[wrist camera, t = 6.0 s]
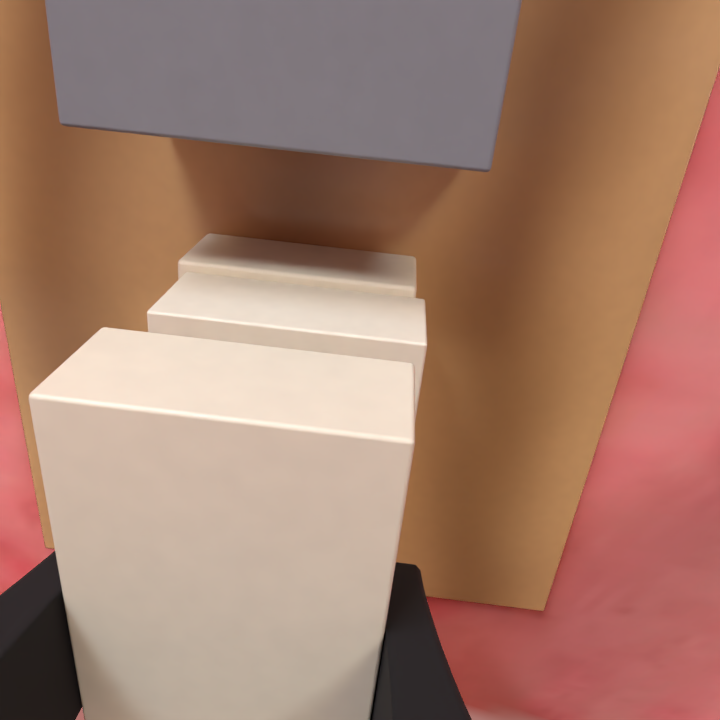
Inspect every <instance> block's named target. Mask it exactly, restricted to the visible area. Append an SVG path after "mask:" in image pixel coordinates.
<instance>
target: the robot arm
mask: <svg viewBox="0 0 720 720" xmlns="http://www.w3.org/2000/svg"><path fill="white" fill-rule="evenodd" d="M81 708H82V702H81V696H80V690H79V684H78V679H77V673H76V667H75V662H74V656H73V650H72V644H71V639H70V633H69V627H68V622H67V616H66V610H65V604H64V599H63V593H62V587H61V582H60V576H59V570H58V564H57V559H56V553H55V551H54V552H53V553H52V554H51V555H49V556H48V557H47V558H46V559H45V560H43V561H42V562H41V563H40V564H38V565H37V566H36V567H35V568H34V569H32V570H31V571H30V572H29V573H27V574H26V575H25V576H24V577H23V578H21V579H20V580H19V581H18V582H16V583H15V584H14V585H12V586H11V587H10V588H9V589H7V590H6V591H5V592H4V593H2V594H1V595H0V720H75V719H76V717H77V715H78V713H79V712H80V710H81ZM371 720H471V717H470V715H469V713H468V711H467V708H466V706H465V704H464V702H463V699H462V697H461V695H460V692H459V690H458V687H457V685H456V683H455V680H454V678H453V675H452V673H451V670H450V667H449V665H448V662H447V659H446V657H445V654H444V651H443V649H442V646H441V643H440V640H439V637H438V635H437V632H436V629H435V625H434V622H433V619H432V616H431V613H430V609H429V606H428V602H427V598H426V594H425V591H424V586H423V581H422V576H421V570H420V569H419V568H418V567H417V566H416V565H414V564H406V563H398V562H396V565H395V571H394V577H393V583H392V590H391V596H390V602H389V608H388V614H387V621H386V627H385V633H384V639H383V645H382V652H381V658H380V664H379V670H378V677H377V683H376V689H375V695H374V701H373V708H372V714H371Z"/></svg>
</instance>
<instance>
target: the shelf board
mask: <svg viewBox="0 0 720 720" xmlns="http://www.w3.org/2000/svg"><path fill="white" fill-rule="evenodd" d="M719 67H720V0H522V3H521V9H520V14H519V20H518V25H517V31H516V36H515V42H514V47H513V52H512V58H511V63H510V69H509V74H508V80H507V85H506V91H505V96H504V101H503V107H502V112H501V118H500V123H499V129H498V134H497V140H496V145H495V150H494V156H493V161H492V167H491V169H490V171H488V172H479V171H470V170H461V169H452V168H443V167H433V166H424V165H415V164H406V163H397V162H388V161H379V160H369V159H360V158H351V157H342V156H333V155H324V154H315V153H305V152H296V151H287V150H278V149H269V148H260V147H251V146H241V145H232V144H223V143H214V142H205V141H196V140H187V139H177V138H168V137H159V136H150V135H141V134H132V133H123V132H113V131H104V130H95V129H86V128H77V127H68V126H63V125H61V124H60V122H59V114H58V106H57V97H56V89H55V81H54V72H53V64H52V56H51V47H50V39H49V31H48V22H47V14H46V6H45V0H0V304H1V309H2V315H3V320H4V326H5V331H6V337H7V342H8V347H9V353H10V358H11V364H12V369H13V375H14V380H15V385H16V391H17V396H18V402H19V407H20V413H21V418H22V424H23V429H24V434H25V440H26V445H27V451H28V456H29V462H30V467H31V472H32V478H33V483H34V489H35V494H36V500H37V505H38V511H39V516H40V521H41V527H42V532H43V538H44V543H45V547H46V548H50V549H55V547H54V541H53V536H52V530H51V524H50V519H49V513H48V507H47V501H46V496H45V490H44V484H43V479H42V473H41V467H40V461H39V456H38V450H37V444H36V439H35V433H34V427H33V421H32V416H31V410H30V404H29V394H30V393H31V392H32V391H33V390H34V389H35V388H36V387H37V386H38V385H40V384H41V383H42V382H43V381H44V380H45V379H46V378H47V377H48V376H49V375H50V374H52V373H53V372H54V371H55V370H56V369H57V368H58V367H59V366H60V365H61V364H63V363H64V362H65V361H66V360H67V359H68V358H69V357H70V356H71V355H72V354H73V353H75V352H76V351H77V350H78V349H79V348H80V347H81V346H82V345H83V344H84V343H86V342H87V341H88V340H89V339H90V338H91V337H92V336H93V335H94V334H95V333H96V332H98V331H99V330H100V329H101V328H104V327H107V328H116V329H124V330H133V331H142V332H148V322H147V311H148V310H149V309H150V308H151V307H152V306H153V305H154V304H155V303H156V302H157V301H158V300H159V299H160V298H161V297H162V296H163V295H164V294H165V293H166V292H167V291H168V290H169V289H170V288H171V287H172V286H173V285H174V284H175V283H176V282H177V281H178V261H179V260H180V259H181V258H182V257H183V256H184V255H185V254H186V253H187V252H189V251H190V250H191V249H192V248H193V247H194V246H195V245H196V244H197V243H198V242H199V241H200V240H202V239H203V238H204V237H205V236H206V235H207V234H210V233H211V234H220V235H229V236H238V237H247V238H256V239H264V240H273V241H282V242H291V243H300V244H309V245H317V246H326V247H335V248H344V249H353V250H362V251H371V252H379V253H388V254H397V255H406V256H413V257H415V258H416V284H417V291H416V298H419V299H424V300H425V307H426V329H427V350H426V357H425V363H424V369H423V376H422V382H421V388H420V395H419V401H418V407H417V414H416V420H415V447H414V453H413V459H412V465H411V471H410V478H409V484H408V490H407V496H406V503H405V509H404V515H403V521H402V527H401V534H400V540H399V546H398V552H397V558H396V562H398V563H406V564H414V565H416V566H417V567H418V568H419V569H420V570H421V576H422V581H423V586H424V591H425V594H426V596H427V597H435V598H443V599H451V600H459V601H467V602H475V603H482V604H490V605H498V606H506V607H514V608H522V609H530V610H537V611H544V609H545V605H546V602H547V599H548V596H549V593H550V590H551V587H552V584H553V581H554V578H555V575H556V571H557V568H558V565H559V562H560V559H561V556H562V553H563V550H564V547H565V544H566V540H567V537H568V534H569V531H570V528H571V525H572V522H573V519H574V516H575V513H576V510H577V506H578V503H579V500H580V497H581V494H582V491H583V488H584V485H585V482H586V479H587V475H588V472H589V469H590V466H591V463H592V460H593V457H594V454H595V451H596V448H597V445H598V441H599V438H600V435H601V432H602V429H603V426H604V423H605V420H606V417H607V414H608V410H609V407H610V404H611V401H612V398H613V395H614V392H615V389H616V386H617V383H618V379H619V376H620V373H621V370H622V367H623V364H624V361H625V358H626V355H627V352H628V349H629V345H630V342H631V339H632V336H633V333H634V330H635V327H636V324H637V321H638V318H639V314H640V311H641V308H642V305H643V302H644V299H645V296H646V293H647V290H648V287H649V284H650V280H651V277H652V274H653V271H654V268H655V265H656V262H657V259H658V256H659V253H660V249H661V246H662V243H663V240H664V237H665V234H666V231H667V228H668V225H669V222H670V219H671V215H672V212H673V209H674V206H675V203H676V200H677V197H678V194H679V191H680V188H681V184H682V181H683V178H684V175H685V172H686V169H687V166H688V163H689V160H690V157H691V154H692V150H693V147H694V144H695V141H696V138H697V135H698V132H699V129H700V126H701V123H702V119H703V116H704V113H705V110H706V107H707V104H708V101H709V98H710V95H711V92H712V89H713V85H714V82H715V79H716V76H717V73H718V70H719Z"/></svg>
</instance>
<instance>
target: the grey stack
mask: <svg viewBox="0 0 720 720" xmlns="http://www.w3.org/2000/svg"><path fill="white" fill-rule="evenodd" d="M521 3H522V0H45V6H46V14H47V22H48V31H49V39H50V47H51V56H52V64H53V72H54V81H55V89H56V97H57V106H58V114H59V122H60V124H61V125H63V126H68V127H77V128H86V129H95V130H104V131H113V132H123V133H132V134H141V135H150V136H159V137H168V138H177V139H187V140H196V141H205V142H214V143H223V144H232V145H241V146H251V147H260V148H269V149H278V150H287V151H296V152H305V153H315V154H324V155H333V156H342V157H351V158H360V159H369V160H379V161H388V162H397V163H406V164H415V165H424V166H433V167H443V168H452V169H461V170H470V171H479V172H488V171H490V169H491V167H492V161H493V156H494V150H495V145H496V140H497V134H498V129H499V123H500V118H501V112H502V107H503V101H504V96H505V91H506V85H507V80H508V74H509V69H510V63H511V58H512V52H513V47H514V42H515V36H516V31H517V25H518V20H519V14H520V9H521Z"/></svg>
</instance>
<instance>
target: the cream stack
mask: <svg viewBox="0 0 720 720" xmlns="http://www.w3.org/2000/svg"><path fill="white" fill-rule="evenodd" d="M416 291H417V284H416V258H415V257H413V256H406V255H397V254H388V253H379V252H371V251H362V250H353V249H344V248H335V247H326V246H317V245H309V244H300V243H291V242H282V241H273V240H264V239H256V238H247V237H238V236H229V235H220V234H211V233H210V234H207V235H206V236H205V237H204V238H203V239H202V240H200V241H199V242H198V243H197V244H196V245H195V246H194V247H193V248H192V249H191V250H190V251H189V252H187V253H186V254H185V255H184V256H183V257H182V258H181V259H180V260H179V261H178V281H177V282H176V283H175V284H174V285H173V286H172V287H171V288H170V289H169V290H168V291H167V292H166V293H165V294H164V295H163V296H162V297H161V298H160V299H159V300H158V301H157V302H156V303H155V304H154V305H153V306H152V307H151V308H150V309H149V310H148V311H147V322H148V332H150V333H159V334H167V335H176V336H184V337H193V338H201V339H210V340H218V341H227V342H235V343H244V344H253V345H261V346H270V347H278V348H287V349H295V350H304V351H312V352H321V353H329V354H338V355H346V356H355V357H363V358H372V359H381V360H389V361H398V362H406V363H412V364H413V365H414V367H415V420H416V414H417V407H418V401H419V395H420V388H421V382H422V376H423V369H424V363H425V357H426V350H427V329H426V307H425V300H424V299H419V298H416Z"/></svg>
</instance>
